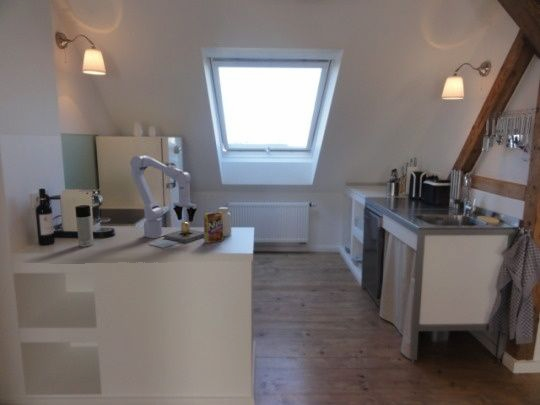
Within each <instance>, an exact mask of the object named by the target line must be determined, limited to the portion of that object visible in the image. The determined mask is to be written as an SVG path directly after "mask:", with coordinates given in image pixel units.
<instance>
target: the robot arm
mask: <svg viewBox="0 0 540 405" xmlns="http://www.w3.org/2000/svg"><path fill="white" fill-rule="evenodd" d="M129 164H130V167H131V169H130V170H131V172H130V174H131V176H132V178H133V181H134V183H135V185H136V188H137V191H138V192H139V194H140V197H141V199H142V202H143V205H144V206H143V212H144V218H145V219H146V220H144V223H143V235H142V236H143V237H145V238H150V239H158V238H161V237H164V235H166V234H167V233H166V234H165V233H163V224H162V217H163V216H164V210H163V208H162V207H161V206H160V204H159V203H158V202H156V201H155V198H154V197H153V194H152V192H151V190H150V187H149V185H148V182H147V180H146V177H145V175H144V173H145V172H146V170H147V168H148V167H153V169H157V170H159V171H161V172H163V173H164V175H165V176H167V177H168V178H170V179H172V180H174V181H176V183H177V187H178V202H177V201H175V202H173V204H172V205H173V211H174V212H175V214H176V217H177V220H178V221H182V220H183V210H184V209H183V208H186V212H187V216H188V222H189V223H192V222H193V221H194V216H195V214H196V212H197V210H198V205H197V204H195V203H191V192H190V191H191V190H190V188H191V187H190V181H191V180H192V175H191V174H190V173H189V171H183V170H182V169H179V168H177V167H175V165H166V164H164V163H163V162H161V161H158V160H157V159H155V158H153V157H152V156H148V155H147V154H144V155H134V156H133V157H132V158H131V160H130V162H129Z"/></svg>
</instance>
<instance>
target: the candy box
mask: <svg viewBox="0 0 540 405" xmlns="http://www.w3.org/2000/svg"><path fill="white" fill-rule="evenodd" d="M203 232H204V237H203V240H204V243H206V244H211V243H217V242H223V241H224V236H223V214H222V212H220V211H212V212H211V211H210V212H203Z"/></svg>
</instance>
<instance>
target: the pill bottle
mask: <svg viewBox="0 0 540 405" xmlns="http://www.w3.org/2000/svg"><path fill="white" fill-rule="evenodd" d="M218 211H220V212H222V214H223V237H229V236H231V235H232V215H231V212H229V207H226V206H221V207H218Z"/></svg>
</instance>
